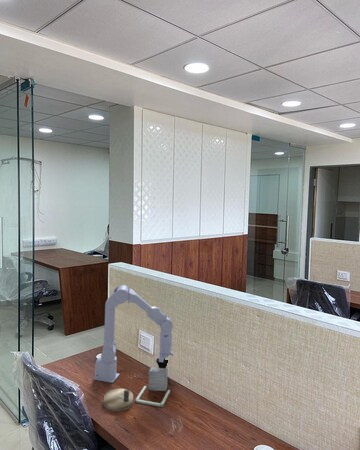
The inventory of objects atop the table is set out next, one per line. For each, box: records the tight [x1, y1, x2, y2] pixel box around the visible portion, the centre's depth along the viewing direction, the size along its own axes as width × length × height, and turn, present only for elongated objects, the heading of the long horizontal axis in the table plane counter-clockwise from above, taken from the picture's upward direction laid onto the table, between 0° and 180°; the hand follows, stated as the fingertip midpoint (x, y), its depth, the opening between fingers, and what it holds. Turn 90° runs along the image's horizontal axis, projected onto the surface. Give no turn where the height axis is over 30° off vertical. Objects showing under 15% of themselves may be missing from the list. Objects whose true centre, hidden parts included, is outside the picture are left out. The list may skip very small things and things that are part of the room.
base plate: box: [102, 400, 135, 412], centre depth 149 cm, size 12×12×1 cm
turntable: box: [103, 388, 134, 410], centre depth 149 cm, size 12×12×6 cm
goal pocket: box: [134, 385, 171, 408], centre depth 154 cm, size 12×12×1 cm
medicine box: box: [148, 366, 169, 392], centre depth 160 cm, size 8×4×9 cm, turn 84°
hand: (164, 370), depth 170 cm, fingers open, 7 cm apart
